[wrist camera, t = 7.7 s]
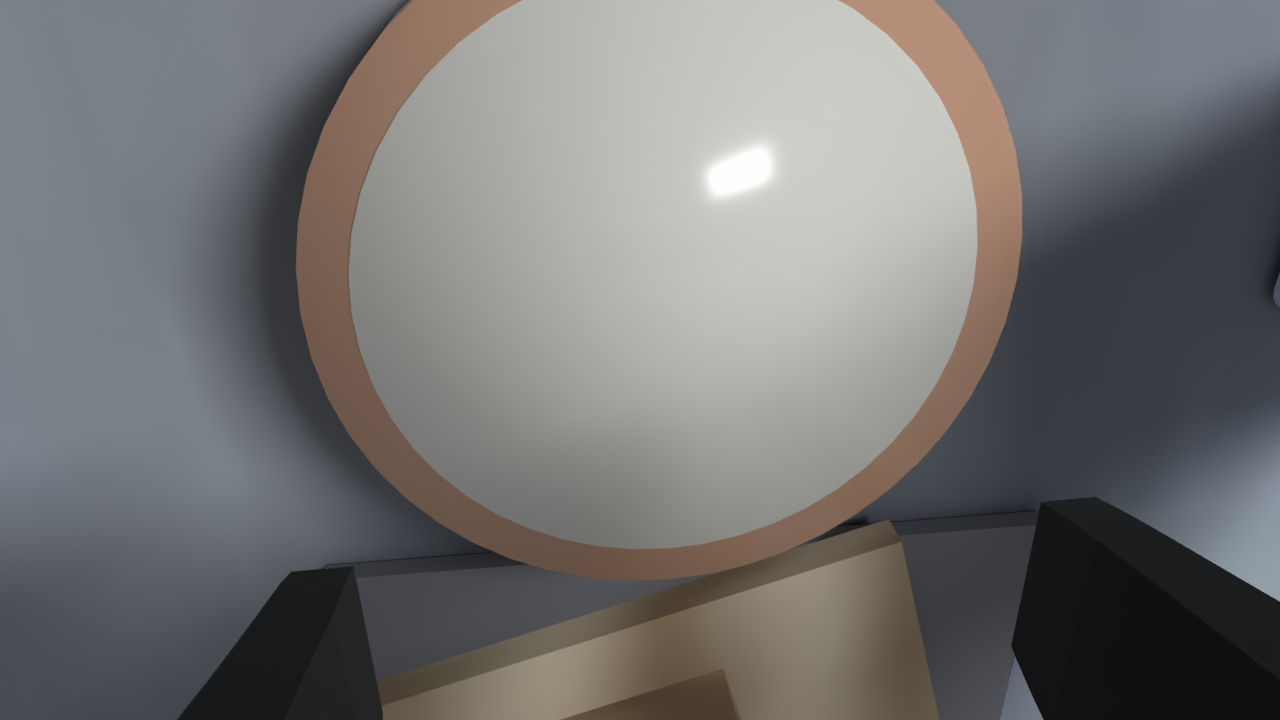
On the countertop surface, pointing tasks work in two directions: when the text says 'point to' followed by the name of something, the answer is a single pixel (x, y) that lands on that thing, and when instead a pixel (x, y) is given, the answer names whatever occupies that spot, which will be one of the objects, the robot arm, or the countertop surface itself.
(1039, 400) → the countertop surface
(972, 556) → the charcoal mat
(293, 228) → the countertop surface
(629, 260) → the terracotta dish
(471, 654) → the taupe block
